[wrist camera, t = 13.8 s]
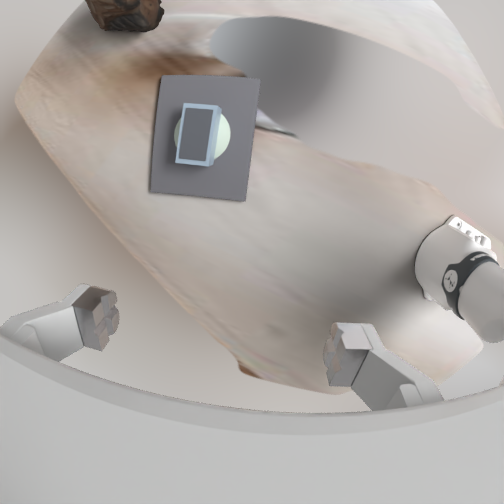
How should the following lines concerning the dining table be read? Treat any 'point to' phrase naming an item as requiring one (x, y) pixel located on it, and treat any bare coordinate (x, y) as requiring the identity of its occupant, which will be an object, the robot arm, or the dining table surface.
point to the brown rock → (126, 14)
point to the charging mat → (228, 140)
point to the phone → (198, 134)
